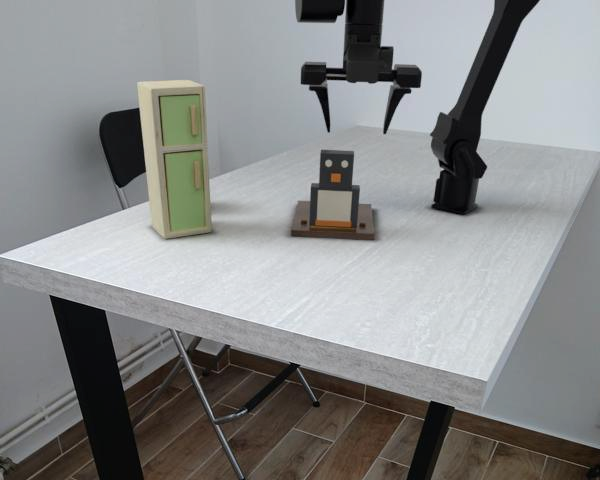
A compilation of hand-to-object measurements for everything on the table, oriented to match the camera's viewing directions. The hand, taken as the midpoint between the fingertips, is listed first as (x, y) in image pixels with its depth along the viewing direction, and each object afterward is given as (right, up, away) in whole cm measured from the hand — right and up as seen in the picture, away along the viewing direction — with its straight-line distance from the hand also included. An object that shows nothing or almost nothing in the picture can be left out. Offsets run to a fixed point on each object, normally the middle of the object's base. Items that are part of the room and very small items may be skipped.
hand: (356, 133), depth 106 cm
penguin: (-4, -11, -6) cm, 13 cm away
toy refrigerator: (-28, -18, -5) cm, 33 cm away
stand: (-4, -14, +1) cm, 15 cm away
